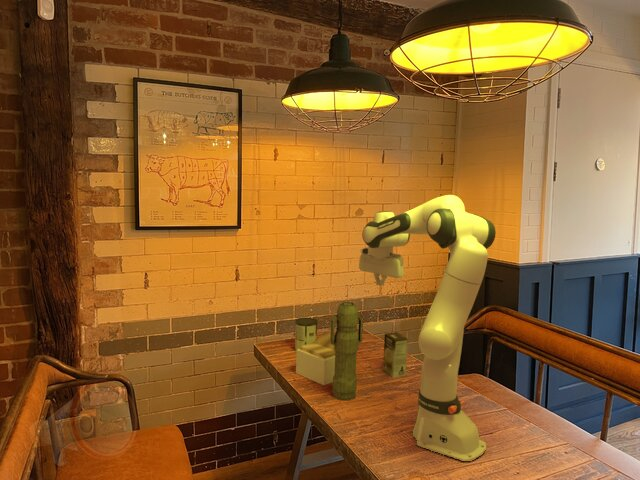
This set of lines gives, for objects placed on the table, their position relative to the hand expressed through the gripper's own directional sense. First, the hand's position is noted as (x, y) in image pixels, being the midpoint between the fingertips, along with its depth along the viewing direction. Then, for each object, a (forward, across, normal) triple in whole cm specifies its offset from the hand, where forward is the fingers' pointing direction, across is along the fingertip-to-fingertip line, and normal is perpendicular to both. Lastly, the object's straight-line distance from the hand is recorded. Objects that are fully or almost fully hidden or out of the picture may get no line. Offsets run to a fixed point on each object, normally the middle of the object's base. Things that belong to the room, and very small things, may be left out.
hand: (379, 285), depth 198 cm
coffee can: (+38, +39, +2) cm, 55 cm away
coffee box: (+38, -5, -7) cm, 39 cm away
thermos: (+38, -5, +24) cm, 45 cm away
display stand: (+38, +14, +15) cm, 43 cm away
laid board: (+28, +14, +19) cm, 37 cm away
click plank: (+26, +14, +11) cm, 32 cm away
